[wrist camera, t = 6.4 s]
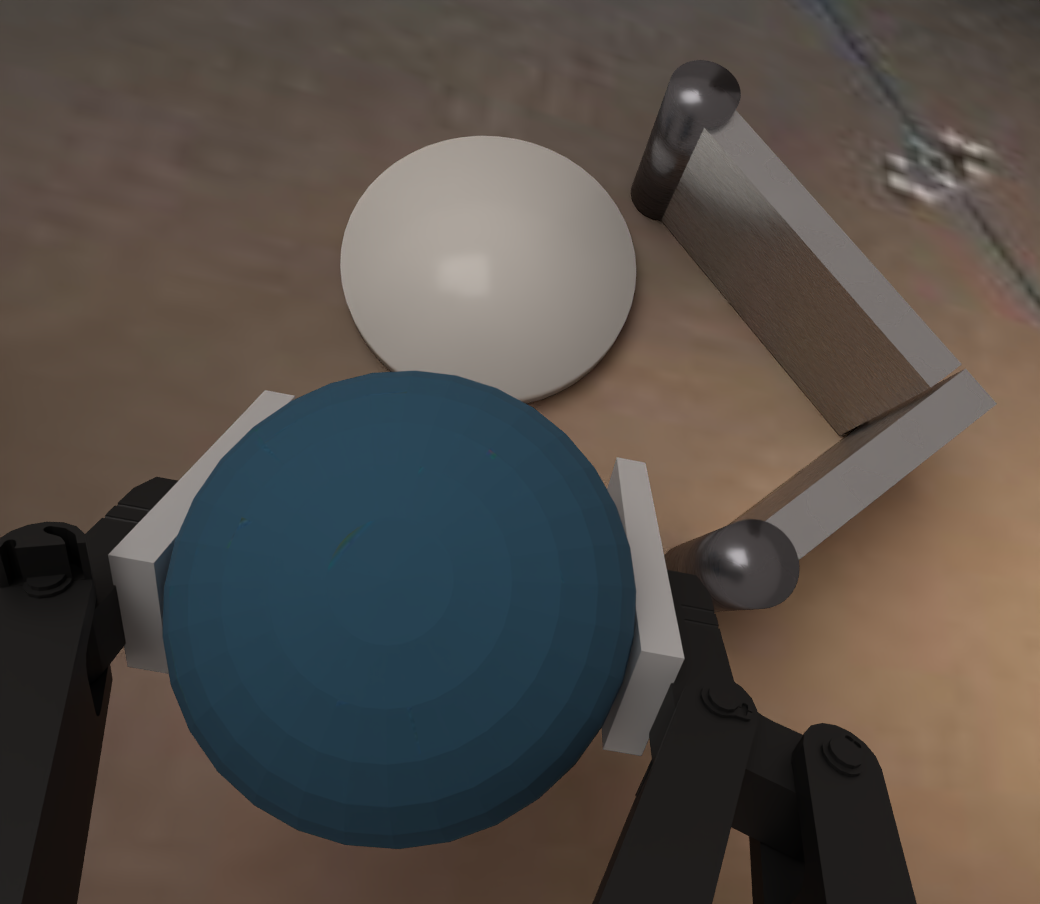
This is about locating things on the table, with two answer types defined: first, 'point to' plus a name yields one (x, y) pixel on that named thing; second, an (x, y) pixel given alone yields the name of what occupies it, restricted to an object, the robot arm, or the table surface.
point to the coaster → (489, 266)
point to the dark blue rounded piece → (399, 609)
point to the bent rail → (795, 334)
